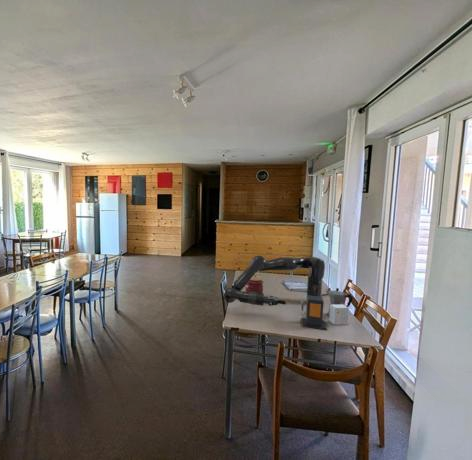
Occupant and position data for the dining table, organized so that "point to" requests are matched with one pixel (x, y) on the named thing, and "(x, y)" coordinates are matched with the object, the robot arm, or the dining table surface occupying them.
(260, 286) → the kitchen canister
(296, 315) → the dining table surface
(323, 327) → the dispenser
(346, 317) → the small box
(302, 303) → the push plate
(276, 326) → the dining table surface
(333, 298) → the coffeepot
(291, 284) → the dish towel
